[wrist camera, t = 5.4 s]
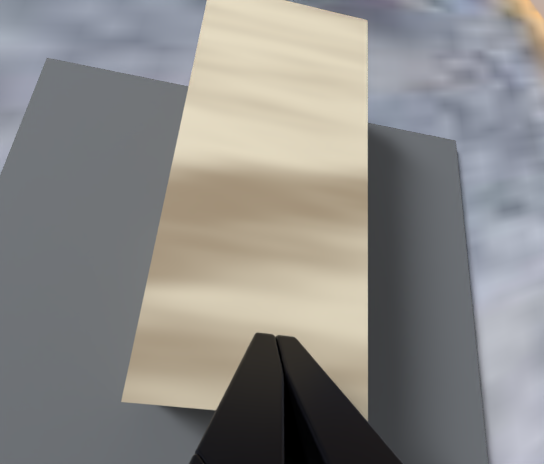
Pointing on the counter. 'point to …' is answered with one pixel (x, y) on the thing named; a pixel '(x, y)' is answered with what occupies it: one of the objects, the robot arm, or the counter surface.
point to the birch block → (262, 206)
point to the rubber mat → (135, 268)
